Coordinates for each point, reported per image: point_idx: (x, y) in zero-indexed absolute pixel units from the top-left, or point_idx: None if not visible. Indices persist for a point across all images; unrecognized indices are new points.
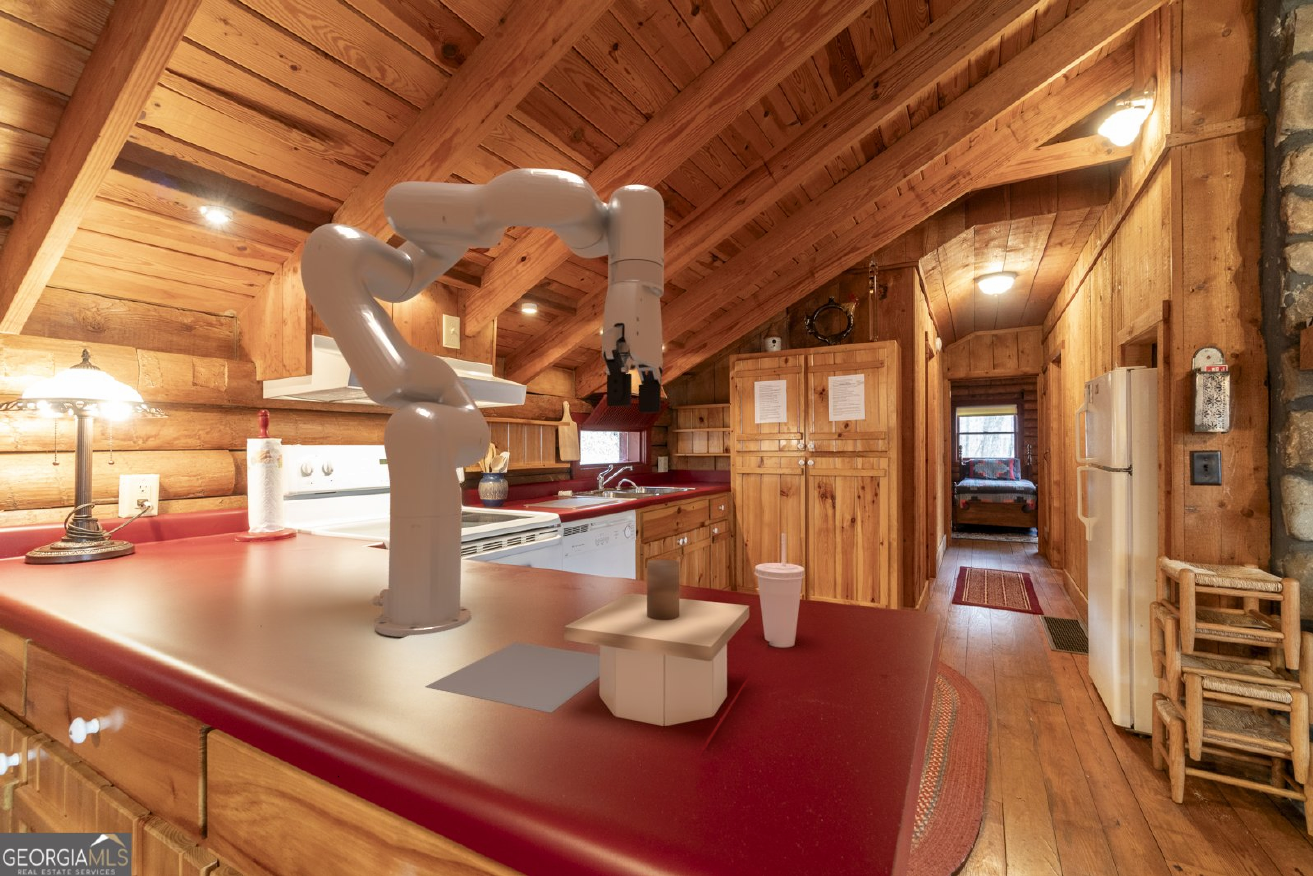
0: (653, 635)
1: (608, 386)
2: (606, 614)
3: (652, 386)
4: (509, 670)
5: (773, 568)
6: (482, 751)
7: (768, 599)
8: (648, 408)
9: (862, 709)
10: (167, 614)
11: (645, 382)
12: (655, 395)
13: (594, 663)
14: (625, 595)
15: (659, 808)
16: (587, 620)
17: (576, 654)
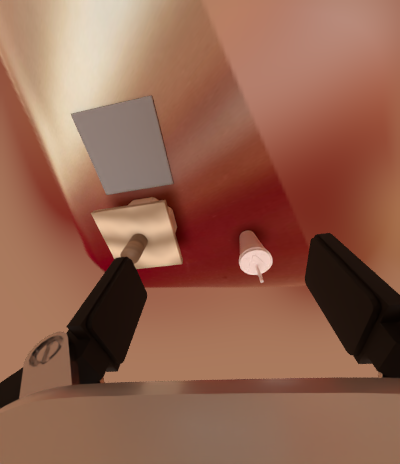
0: (114, 250)
1: (93, 295)
2: (120, 217)
3: (350, 337)
4: (118, 139)
5: (250, 261)
6: (74, 190)
7: (240, 249)
8: (310, 266)
9: (189, 275)
10: None
11: (384, 336)
12: (328, 313)
13: (157, 174)
14: (158, 203)
15: (101, 249)
16: (106, 216)
17: (161, 155)
